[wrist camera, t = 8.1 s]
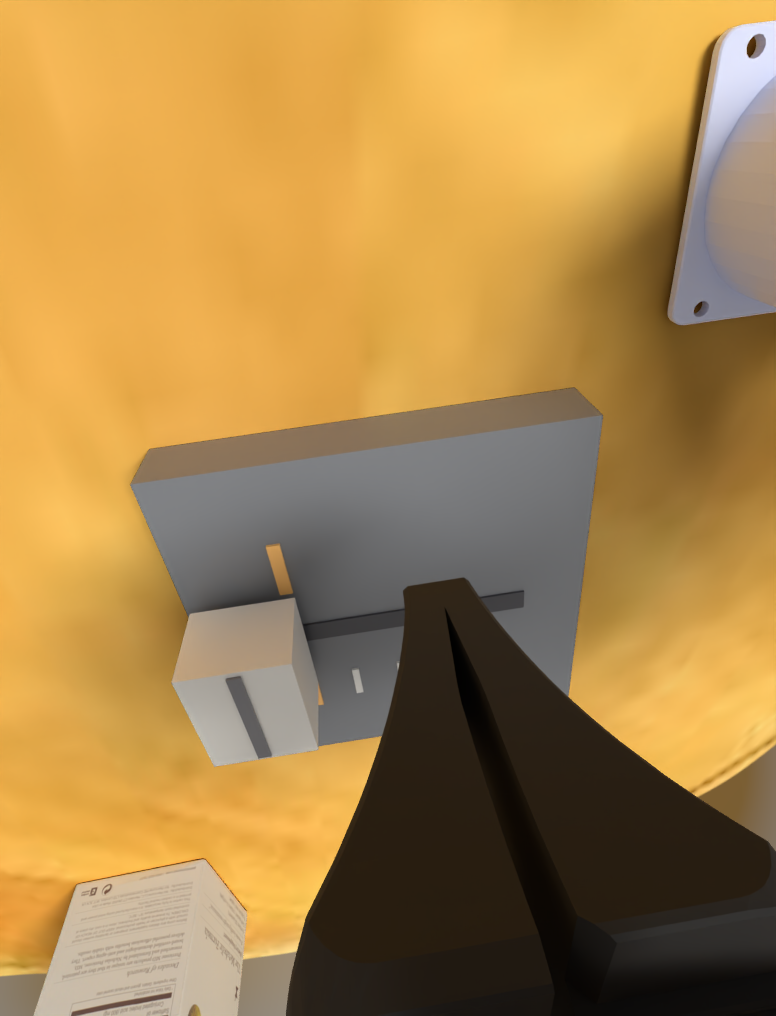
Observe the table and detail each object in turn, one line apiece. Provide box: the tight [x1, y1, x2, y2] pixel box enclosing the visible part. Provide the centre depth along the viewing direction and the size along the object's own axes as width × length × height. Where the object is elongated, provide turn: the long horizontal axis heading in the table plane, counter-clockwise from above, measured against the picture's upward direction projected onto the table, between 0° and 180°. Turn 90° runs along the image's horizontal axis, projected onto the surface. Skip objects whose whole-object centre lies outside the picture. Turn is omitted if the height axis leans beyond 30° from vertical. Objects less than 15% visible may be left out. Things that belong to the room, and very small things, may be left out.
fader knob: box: [171, 598, 318, 767], centre depth 21 cm, size 4×5×4 cm
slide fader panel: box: [130, 388, 603, 746], centre depth 24 cm, size 16×16×3 cm
